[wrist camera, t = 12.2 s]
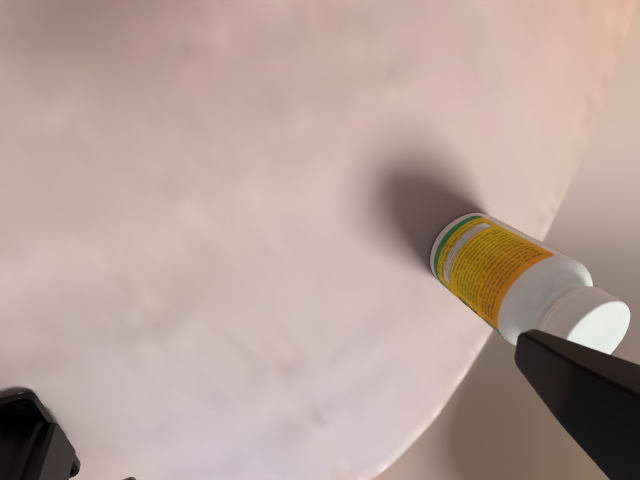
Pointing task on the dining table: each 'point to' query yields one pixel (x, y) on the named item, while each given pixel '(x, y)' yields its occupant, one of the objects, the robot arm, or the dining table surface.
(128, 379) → the dining table surface
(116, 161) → the dining table surface
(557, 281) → the supplement bottle
